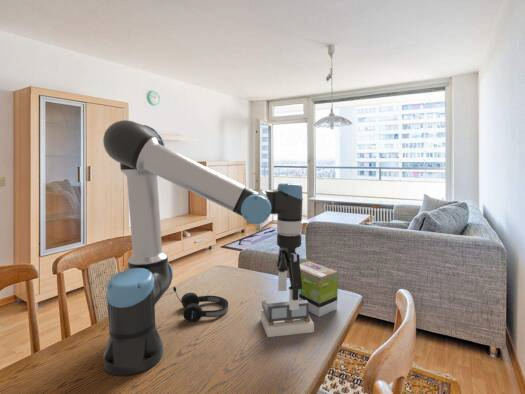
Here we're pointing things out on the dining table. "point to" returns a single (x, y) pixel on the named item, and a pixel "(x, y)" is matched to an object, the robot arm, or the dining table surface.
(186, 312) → the headset
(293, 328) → the stand
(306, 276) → the tea box
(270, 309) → the glasses
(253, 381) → the dining table surface
